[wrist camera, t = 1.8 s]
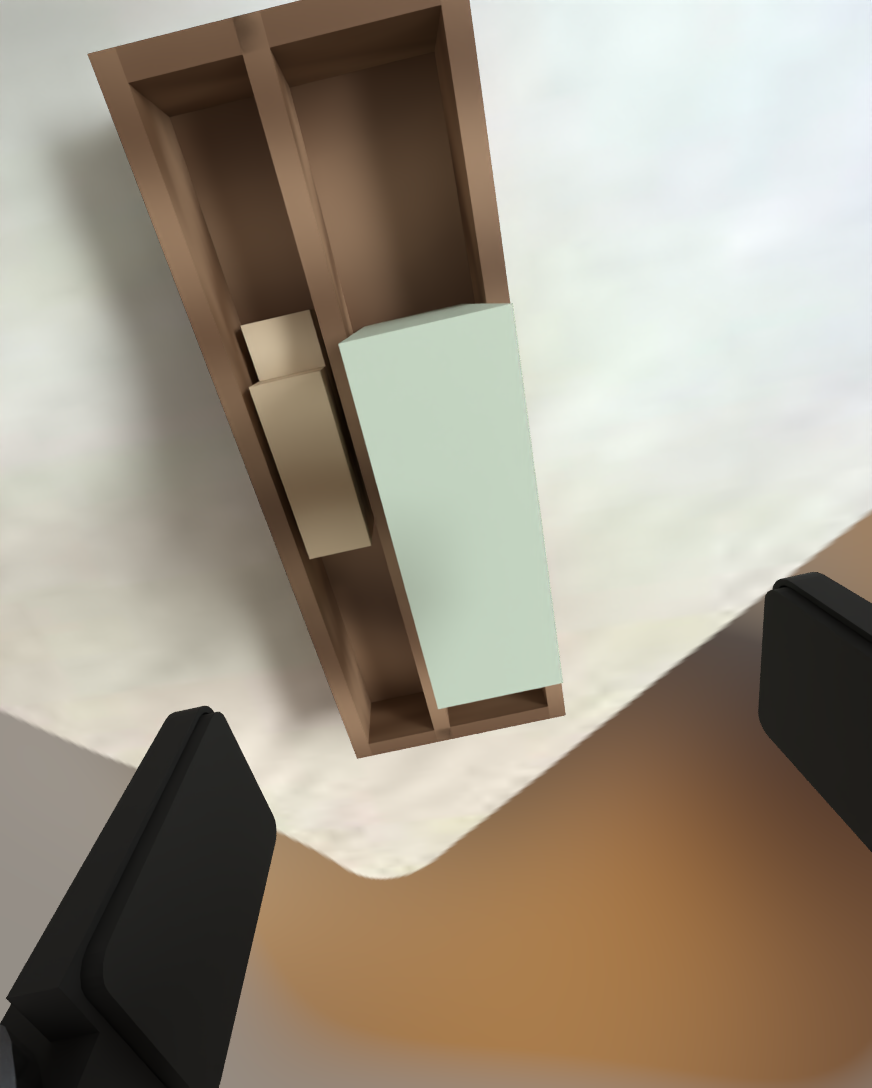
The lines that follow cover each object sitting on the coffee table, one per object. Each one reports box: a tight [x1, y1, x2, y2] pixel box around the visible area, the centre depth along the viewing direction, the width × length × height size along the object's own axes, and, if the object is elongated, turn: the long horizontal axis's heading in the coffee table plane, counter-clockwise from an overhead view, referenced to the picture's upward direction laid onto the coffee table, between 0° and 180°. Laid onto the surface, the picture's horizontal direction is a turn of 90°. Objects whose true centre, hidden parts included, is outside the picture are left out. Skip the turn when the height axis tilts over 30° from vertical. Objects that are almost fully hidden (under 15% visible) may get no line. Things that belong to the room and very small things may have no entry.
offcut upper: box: [249, 366, 373, 559], centre depth 21 cm, size 7×3×2 cm, turn 12°
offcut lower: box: [241, 309, 374, 529], centre depth 22 cm, size 9×3×2 cm, turn 12°
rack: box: [88, 0, 566, 759], centre depth 22 cm, size 28×11×4 cm, turn 12°
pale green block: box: [338, 303, 563, 709], centre depth 18 cm, size 11×4×10 cm, turn 12°
